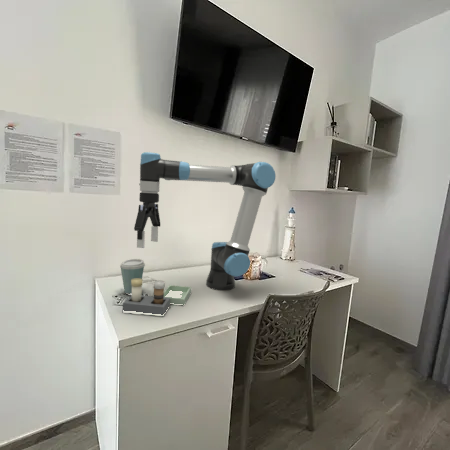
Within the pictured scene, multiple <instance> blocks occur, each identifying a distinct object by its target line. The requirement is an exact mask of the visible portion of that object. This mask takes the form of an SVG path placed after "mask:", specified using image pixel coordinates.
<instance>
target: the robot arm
mask: <svg viewBox="0 0 450 450" xmlns="http://www.w3.org/2000/svg"><path fill="white" fill-rule="evenodd" d="M139 165H140V166H139V169H140V170H139V175H140V176H139V183H138V184H139V191H140V192H139V198H138V199H139V202H140V203H142V204H139V205H138V210H137V211H138V212H137V215H136V219H135V222H134V228H133V230H134V231H137V232H136V233H137V234H136V248H139V249H140V248H141V249H144V248H145V243H146V242H145V241H146V240H145V238H146V237H145V236H146V235H145V234H146V232H145V231H144V230H145V228H146V225H147V222H148V220H150V223H151V225H152V226H151V227H150V228H151V230H150V231H151V235H150V242H153V243H154V242H156V243H157V242H158V239H159V238H158V237H159V227H161V219H160V211H159V204H158V203H159V202H160V194H159V192H160V182H161V181H160V179H163V180H165V181H185V182H186V181H187V182H188V181H189V182H206V183H207V182H208V183H228V184H230V185H231V186H240V187H241V188H242V190H243V192H244V193H243V196H242V199H241V202H240V206H239V209H238V214H237V216H236V219H235V220H236V221H235V223H234V227H233V230H232V234H231V236H230V240H229V241H215V242H213V243H212V244H211V251H210V253H211V255H210V270H209V273H208V275H207V278H206V283H205V284H206V287H208V288H209V287H210V289H212V288H213V289H212V290H216V289H217V290H218V291H229V290H232V289H234V288H235V285H236V280H235V277H241V276H243V275H245V274H246V273H247V272H248V271H249V269H250V266H251V260H250V257H249V254H250V251H251V250H250V248H249V243H250V239H251V236H252V232H253V228H254V225H255V223H256V219H257V216H258V211H259V208H260V205H261V201H262V198H263V197H264V196H267V192H268V189H269V188H270V187H272V186H273V185H274V184H275V181H276V177H277V176H276V172H275V169H274V167H273V166H272V165H271V164H270V163H269V162H266V161H258V162H254V163H253V162H252V163H246V164H241V165H230V167H229V166H216V165H215V166H214V165H202V164H200V165H199V164H189V162H186V161H182V160H181V161H178V160H170V159H163V158H162V157H161V154H159V153H157V152H150V151H149V152H148V151H146V152H143V153H140V164H139Z"/></svg>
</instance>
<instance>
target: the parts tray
mask: <svg viewBox="0 0 450 450" xmlns="http://www.w3.org/2000/svg"><path fill="white" fill-rule="evenodd" d="M170 290H172V291H182V292H183V293H182V294H180V295H182V297H181V298H172V297H166V298H170V303H174V304H183V305H184V304H186V303H187V301H188V299H189V298H188V297H190V296H191V294H192V287H191V286H182V285H174V284H169V285H168V286H167V287H166V289H164V297H165V296H166V295H167V294H168V293H169V291H170ZM190 293H191V294H190ZM189 295H190V296H189ZM186 300H187V301H186ZM185 302H186V303H185ZM184 306H185V305H184Z"/></svg>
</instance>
